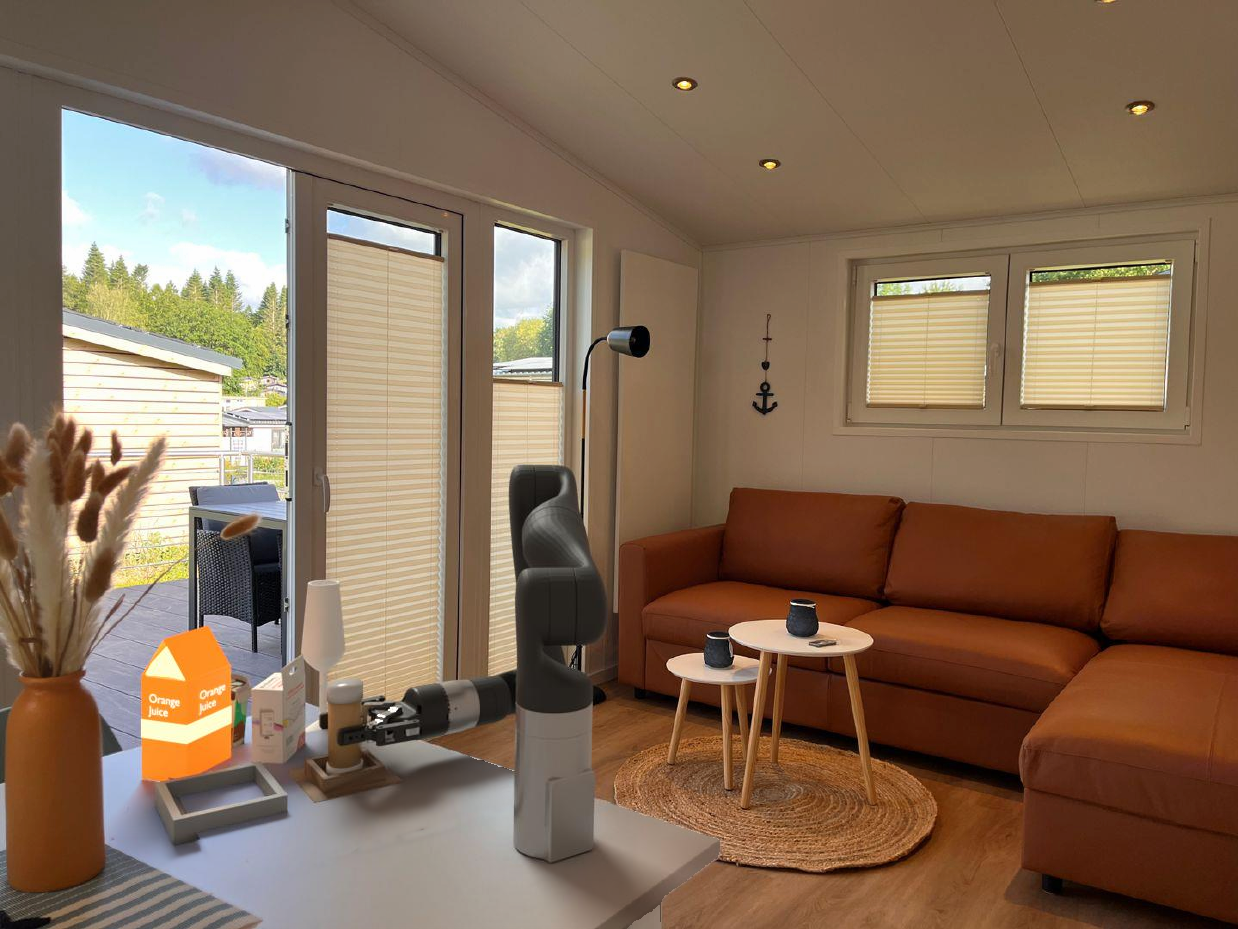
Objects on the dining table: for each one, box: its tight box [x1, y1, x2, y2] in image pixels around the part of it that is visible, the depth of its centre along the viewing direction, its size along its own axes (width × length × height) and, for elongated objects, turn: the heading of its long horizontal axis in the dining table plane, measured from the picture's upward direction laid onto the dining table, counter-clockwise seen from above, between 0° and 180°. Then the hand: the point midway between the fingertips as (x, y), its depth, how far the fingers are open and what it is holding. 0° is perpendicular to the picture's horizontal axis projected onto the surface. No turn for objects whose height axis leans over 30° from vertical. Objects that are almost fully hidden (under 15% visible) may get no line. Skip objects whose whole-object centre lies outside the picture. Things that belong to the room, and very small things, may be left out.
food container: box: [231, 672, 253, 749], centre depth 138 cm, size 12×6×10 cm, turn 66°
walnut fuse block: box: [287, 746, 404, 804], centre depth 123 cm, size 12×12×3 cm
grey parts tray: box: [154, 761, 288, 846], centre depth 114 cm, size 13×13×3 cm
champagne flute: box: [300, 579, 346, 734], centre depth 143 cm, size 7×7×24 cm
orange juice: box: [140, 625, 232, 781], centre depth 126 cm, size 8×9×20 cm
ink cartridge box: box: [250, 654, 306, 764], centre depth 131 cm, size 9×5×15 cm, turn 179°
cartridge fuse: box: [326, 678, 364, 776], centre depth 123 cm, size 5×5×13 cm
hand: (328, 729), depth 122 cm, fingers open, 7 cm apart
